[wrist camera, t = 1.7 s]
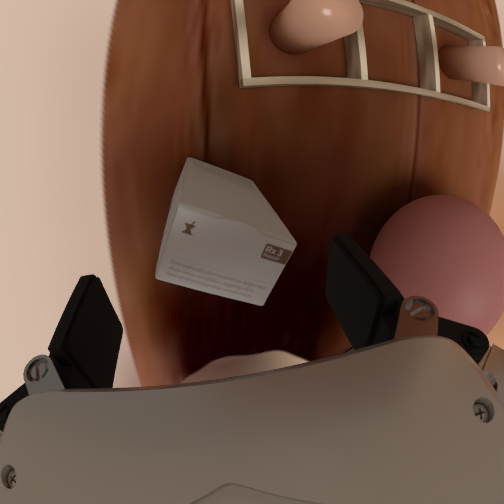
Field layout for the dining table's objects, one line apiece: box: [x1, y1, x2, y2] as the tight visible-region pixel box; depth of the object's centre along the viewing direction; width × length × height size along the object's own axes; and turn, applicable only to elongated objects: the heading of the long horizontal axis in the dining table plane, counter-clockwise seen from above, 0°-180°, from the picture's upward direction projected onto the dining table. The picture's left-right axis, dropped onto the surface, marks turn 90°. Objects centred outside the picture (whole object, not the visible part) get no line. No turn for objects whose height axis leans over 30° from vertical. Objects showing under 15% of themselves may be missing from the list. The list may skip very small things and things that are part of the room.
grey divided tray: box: [231, 0, 504, 112], centre depth 15 cm, size 10×28×8 cm, turn 95°
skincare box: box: [155, 157, 297, 306], centre depth 18 cm, size 6×4×12 cm
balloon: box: [370, 195, 504, 335], centre depth 23 cm, size 15×20×15 cm
